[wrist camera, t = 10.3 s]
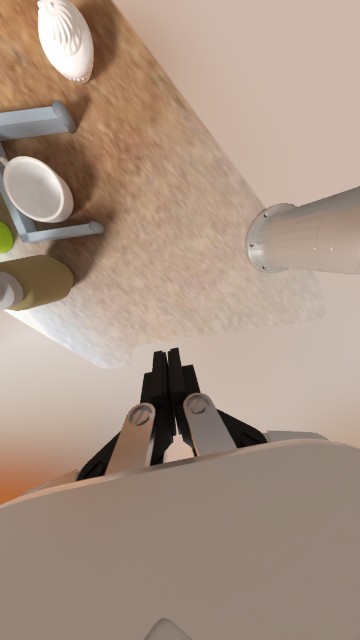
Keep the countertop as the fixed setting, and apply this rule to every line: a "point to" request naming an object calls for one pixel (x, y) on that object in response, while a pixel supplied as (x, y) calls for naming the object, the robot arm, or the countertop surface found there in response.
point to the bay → (31, 126)
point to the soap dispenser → (5, 238)
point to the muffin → (66, 39)
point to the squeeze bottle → (33, 282)
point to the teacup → (37, 189)
